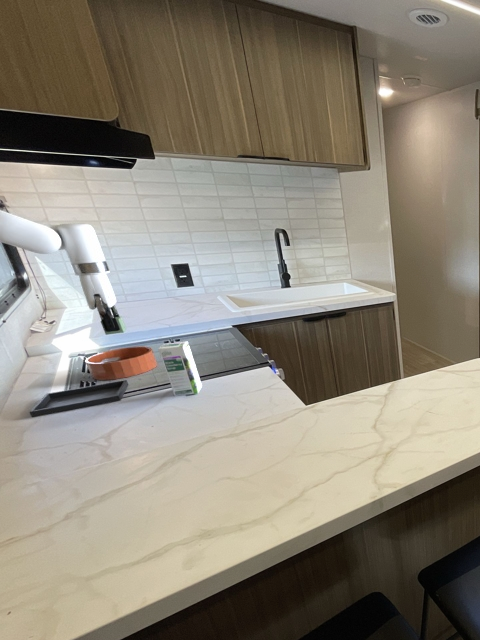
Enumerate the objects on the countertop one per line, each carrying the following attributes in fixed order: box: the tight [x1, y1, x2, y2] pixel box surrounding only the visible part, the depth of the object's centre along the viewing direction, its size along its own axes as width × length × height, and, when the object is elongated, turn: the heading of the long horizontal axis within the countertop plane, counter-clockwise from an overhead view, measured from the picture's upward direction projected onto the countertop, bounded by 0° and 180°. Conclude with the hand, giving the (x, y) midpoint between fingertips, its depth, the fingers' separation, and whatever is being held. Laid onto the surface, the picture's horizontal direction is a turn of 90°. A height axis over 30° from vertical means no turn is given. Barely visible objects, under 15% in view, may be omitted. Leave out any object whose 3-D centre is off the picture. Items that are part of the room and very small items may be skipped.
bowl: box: [84, 346, 158, 381], centre depth 130 cm, size 16×16×6 cm
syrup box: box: [158, 340, 203, 397], centre depth 114 cm, size 6×6×14 cm
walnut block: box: [101, 357, 121, 363], centre depth 129 cm, size 4×4×4 cm
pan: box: [29, 379, 129, 418], centre depth 111 cm, size 17×13×2 cm
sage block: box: [100, 316, 127, 335], centre depth 124 cm, size 4×4×4 cm
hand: (114, 328), depth 124 cm, fingers closed on sage block, 4 cm apart
